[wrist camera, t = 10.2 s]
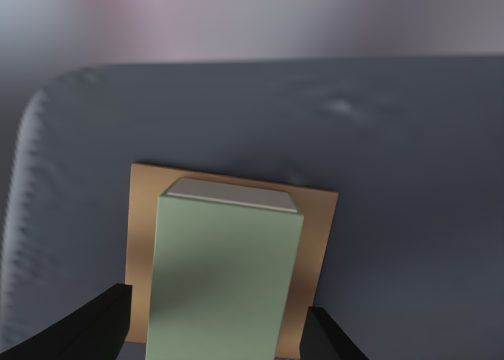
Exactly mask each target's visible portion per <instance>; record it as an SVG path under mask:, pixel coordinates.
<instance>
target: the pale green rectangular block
mask: <svg viewBox="0 0 504 360" xmlns="http://www.w3.org/2000/svg"><path fill="white" fill-rule="evenodd" d="M303 221H304V215H303V213H302V211H301V210H300V208H299V206H298V205H297V203H296V201H295V200H294V198H293V196H292V195H291V194H288V193H287V192H280V191H273V190H266V189H259V188H252V187H245V186H238V185H231V184H224V183H217V182H210V181H203V180H196V179H189V178H178V179H177V180H176V181H174V182H173V183H172V184H171V185H170V186H169V187H168V188H167V189H166V190H164V191H163V192H162V193H161V194H160V195H159V196H158V204H157V217H156V230H155V243H154V256H153V269H152V281H151V294H150V307H149V320H148V333H147V346H146V359H145V360H274V359H275V354H276V350H277V345H278V340H279V335H280V330H281V326H282V321H283V316H284V311H285V307H286V302H287V297H288V292H289V288H290V283H291V278H292V273H293V269H294V264H295V259H296V254H297V250H298V245H299V240H300V235H301V231H302V226H303Z"/></svg>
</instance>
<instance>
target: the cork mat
mask: <svg viewBox="0 0 504 360" xmlns="http://www.w3.org/2000/svg"><path fill="white" fill-rule="evenodd" d="M178 178H189V179H196V180H203V181H210V182H217V183H224V184H231V185H238V186H245V187H252V188H259V189H266V190H273V191H280V192H287V193H288V194H291V195H292V196H293V198H294V200H295V201H296V203H297V205H298V206H299V208H300V210H301V211H302V213H303V215H304V221H303V226H302V231H301V235H300V240H299V245H298V250H297V254H296V259H295V264H294V269H293V273H292V278H291V283H290V288H289V292H288V297H287V302H286V307H285V311H284V316H283V321H282V326H281V330H280V335H279V340H278V345H277V350H276V354H275V357H282V358H291V359H300V351H299V345H300V341H301V337H302V332H303V328H304V324H305V319H306V315H307V311H308V306H311V307H312V304H313V300H314V296H315V292H316V288H317V283H318V279H319V275H320V271H321V266H322V262H323V258H324V254H325V249H326V245H327V241H328V237H329V233H330V228H331V224H332V220H333V216H334V211H335V207H336V203H337V199H338V195H339V193H338V192H337V191H332V190H325V189H318V188H311V187H304V186H297V185H290V184H283V183H277V182H270V181H263V180H256V179H249V178H242V177H235V176H228V175H221V174H214V173H207V172H201V171H194V170H187V169H180V168H173V167H166V166H159V165H152V164H145V163H138V162H134V163H132V164H131V181H130V200H129V219H128V238H127V257H126V276H125V284H128V285H133V287H132V303H131V319H130V329H129V332H128V334H127V336H126V339H125V341H129V342H139V343H147V333H148V320H149V307H150V294H151V281H152V269H153V256H154V243H155V230H156V217H157V204H158V196H159V195H160V194H161V193H162V192H163V191H164V190H166V189H167V188H168V187H169V186H170V185H171V184H172V183H173V182H174V181H176V180H177V179H178Z"/></svg>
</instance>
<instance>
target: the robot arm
mask: <svg viewBox="0 0 504 360" xmlns="http://www.w3.org/2000/svg"><path fill="white" fill-rule="evenodd" d="M132 287H133V285H128V284H119V283H117V284H115V285H114V286H112V287H111V288H109V289H108V290H106V291H105V292H103V293H102V294H100V295H99V296H97V297H96V298H94V299H93V300H91V301H90V302H88V303H87V304H85V305H84V306H82V307H81V308H79V309H78V310H76V311H75V312H73V313H71V314H70V315H68V316H67V317H65V318H63V319H62V320H60V321H58V322H57V323H55V324H53V325H52V326H50V327H48V328H47V329H45V330H43V331H42V332H40V333H38V334H37V335H35V336H33V337H31V338H29V339H28V340H26V341H24V342H22V343H20V344H18V345H16V346H14V347H12V348H11V349H9V350H7V351H5V352H3V353H1V354H0V360H116V358H117V356H118V354H119V352H120V350H121V348H122V346H123V343H124V341H125V339H126V336H127V334H128V332H129V329H130V319H131V303H132ZM299 351H300V359H301V360H369V359H368V358H367V357H366V356H365V355H364V354H363V353H362V352H361V351H360V350H359V348H358V347H357V346H356V345H355V344H354V343H353V342H352V341H351V340H350V338H349V337H348V336H347V335H346V334H345V333H344V332H343V330H342V329H341V328H340V327H339V326H338V325H337V323H336V322H335V321H334V320H333V319H332V318H331V316H330V315H329V314H328V313H327V312H326V311H325V310H324V309H323V308H320V307H311V306H308V311H307V315H306V319H305V324H304V328H303V332H302V337H301V341H300V345H299Z"/></svg>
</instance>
